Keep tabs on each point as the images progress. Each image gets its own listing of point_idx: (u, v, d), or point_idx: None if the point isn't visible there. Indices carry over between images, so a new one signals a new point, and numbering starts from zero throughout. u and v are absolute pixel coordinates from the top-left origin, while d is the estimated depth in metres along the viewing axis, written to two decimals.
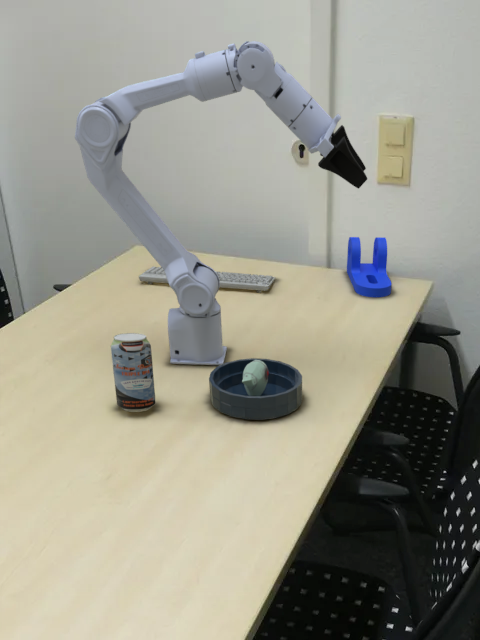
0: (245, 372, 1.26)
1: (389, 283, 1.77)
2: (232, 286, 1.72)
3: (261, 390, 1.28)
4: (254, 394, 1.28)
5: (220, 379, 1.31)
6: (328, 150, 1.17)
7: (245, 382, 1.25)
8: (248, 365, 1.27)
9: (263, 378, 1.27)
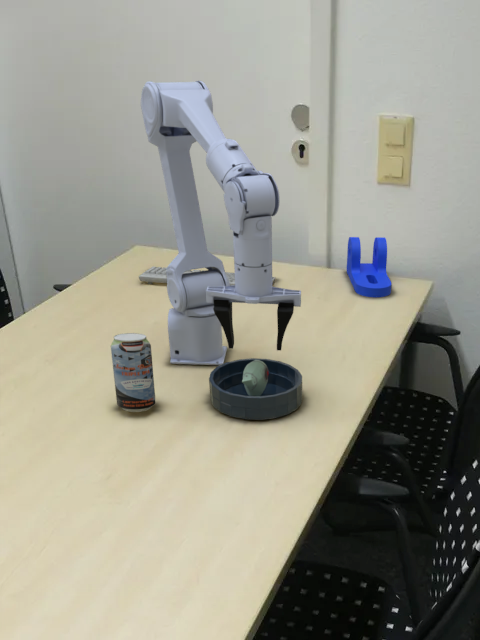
0: (245, 372, 1.26)
1: (389, 283, 1.77)
2: None
3: (261, 390, 1.28)
4: (254, 394, 1.28)
5: (220, 379, 1.31)
6: None
7: (245, 382, 1.25)
8: (248, 365, 1.27)
9: (263, 378, 1.27)
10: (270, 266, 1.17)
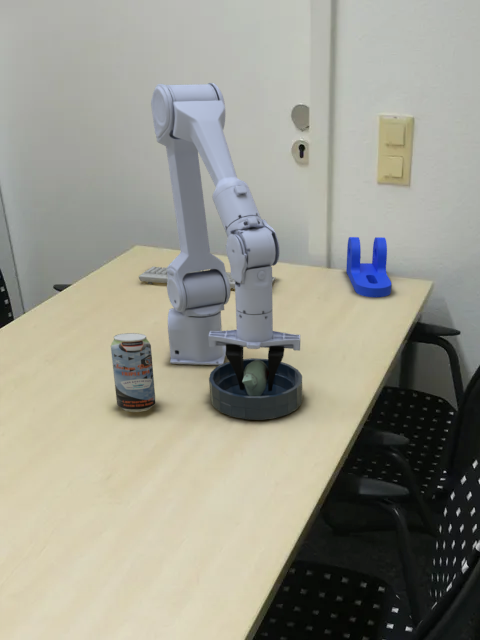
0: (245, 372, 1.26)
1: (389, 283, 1.77)
2: (232, 286, 1.72)
3: (261, 390, 1.28)
4: (254, 394, 1.28)
5: (220, 379, 1.31)
6: None
7: (245, 382, 1.25)
8: (248, 365, 1.27)
9: (263, 378, 1.27)
10: (270, 313, 1.21)
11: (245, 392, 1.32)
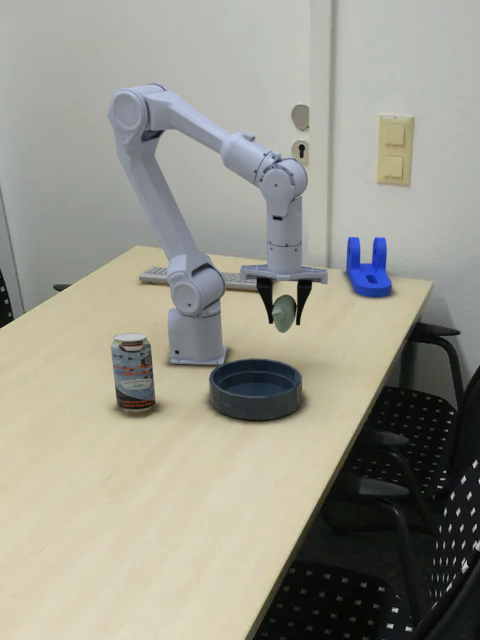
0: (275, 305, 1.31)
1: (389, 283, 1.77)
2: (232, 286, 1.72)
3: (289, 324, 1.33)
4: (283, 328, 1.33)
5: (220, 379, 1.31)
6: None
7: (275, 314, 1.30)
8: (277, 299, 1.32)
9: (292, 312, 1.32)
10: (300, 246, 1.26)
11: (245, 392, 1.32)
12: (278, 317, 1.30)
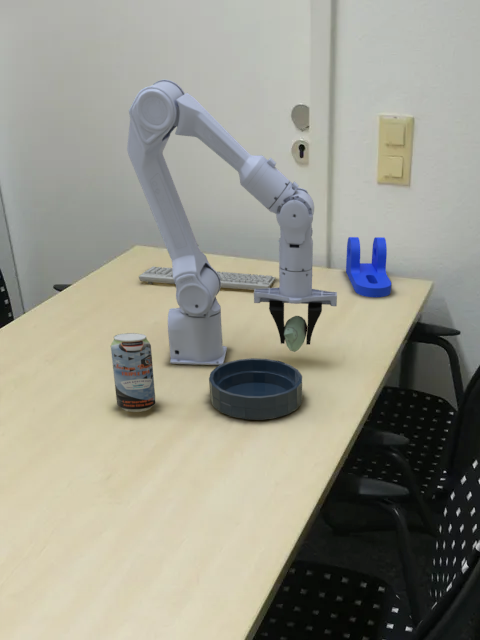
0: (286, 326, 1.38)
1: (389, 283, 1.77)
2: (232, 286, 1.72)
3: (300, 343, 1.40)
4: (294, 347, 1.40)
5: (220, 379, 1.31)
6: None
7: (287, 335, 1.37)
8: (289, 320, 1.39)
9: (303, 332, 1.39)
10: (311, 271, 1.33)
11: (245, 392, 1.32)
12: (290, 337, 1.38)
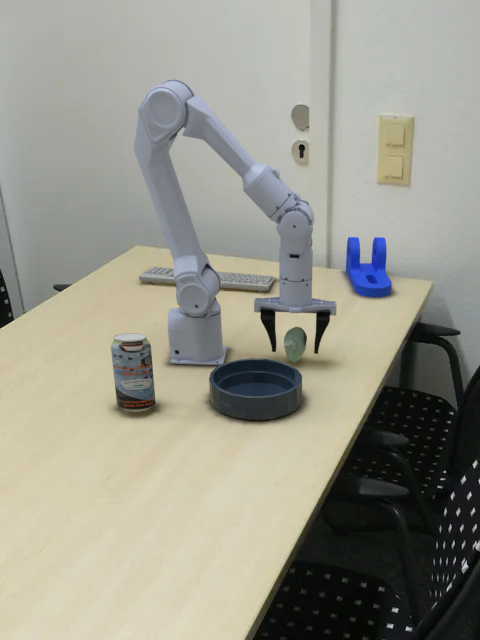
0: (286, 337, 1.40)
1: (389, 283, 1.77)
2: (232, 286, 1.72)
3: (300, 354, 1.42)
4: (294, 358, 1.42)
5: (220, 379, 1.31)
6: None
7: (287, 346, 1.38)
8: (289, 331, 1.40)
9: (302, 343, 1.40)
10: (310, 280, 1.34)
11: (245, 392, 1.32)
12: (290, 348, 1.39)
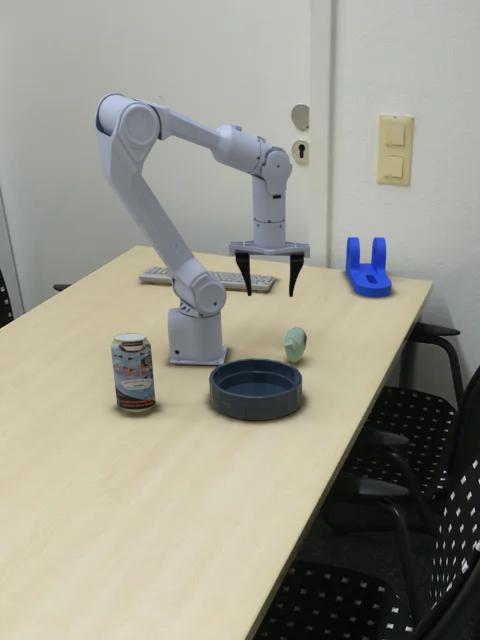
0: (286, 337, 1.39)
1: (389, 283, 1.77)
2: (232, 286, 1.72)
3: (300, 354, 1.42)
4: (294, 358, 1.42)
5: (220, 379, 1.31)
6: None
7: (287, 346, 1.38)
8: (289, 331, 1.40)
9: (302, 343, 1.40)
10: (284, 222, 1.37)
11: (245, 392, 1.32)
12: (290, 348, 1.39)
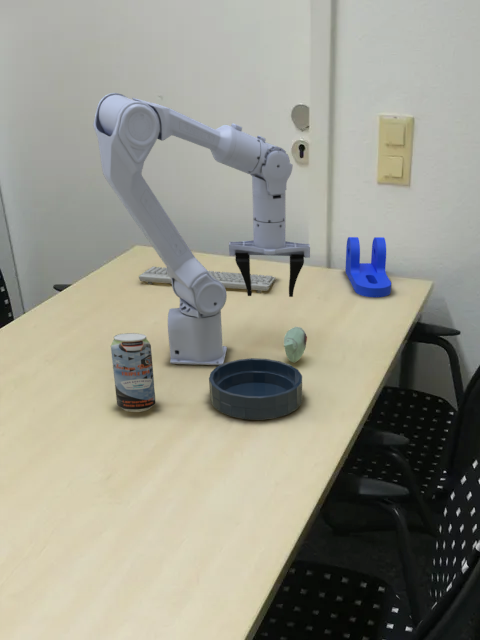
0: (286, 337, 1.39)
1: (389, 283, 1.77)
2: (232, 286, 1.72)
3: (300, 354, 1.42)
4: (294, 358, 1.42)
5: (220, 379, 1.31)
6: None
7: (287, 346, 1.38)
8: (289, 331, 1.40)
9: (302, 343, 1.40)
10: (284, 222, 1.37)
11: (245, 392, 1.32)
12: (290, 348, 1.39)
